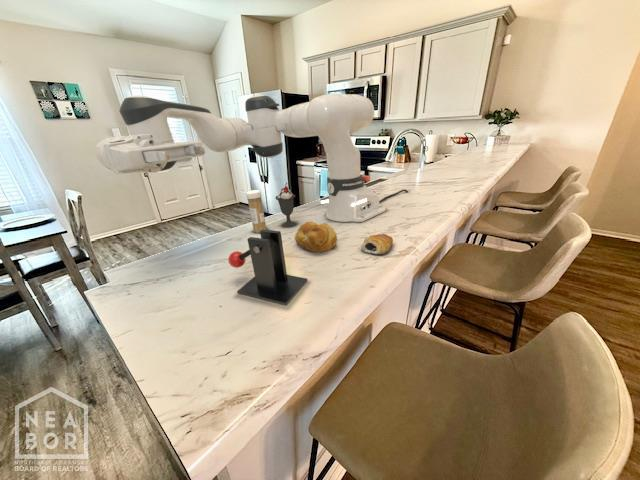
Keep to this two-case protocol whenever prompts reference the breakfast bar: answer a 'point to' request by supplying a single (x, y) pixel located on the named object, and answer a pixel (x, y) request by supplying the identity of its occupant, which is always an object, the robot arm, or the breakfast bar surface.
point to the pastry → (377, 244)
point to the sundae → (286, 205)
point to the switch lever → (245, 254)
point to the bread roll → (316, 237)
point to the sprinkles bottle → (256, 210)
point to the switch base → (270, 271)
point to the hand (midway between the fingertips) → (186, 152)
